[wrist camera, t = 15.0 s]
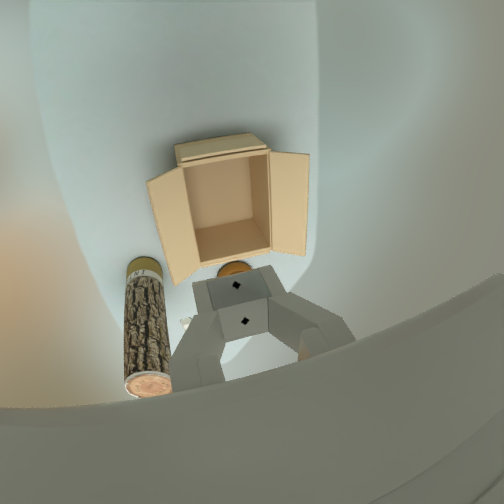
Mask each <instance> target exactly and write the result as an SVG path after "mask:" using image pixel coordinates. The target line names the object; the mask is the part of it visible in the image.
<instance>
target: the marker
mask: <svg viewBox="0 0 504 504" xmlns="http://www.w3.org/2000/svg"><path fill="white" fill-rule="evenodd" d="M190 322H191V319H190V318H189V317H188V318H185V319H182V320H181V325H182V327H183V329H184V331H186V330H187V328H188V326H189V324H190Z"/></svg>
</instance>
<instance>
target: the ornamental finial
mask: <svg viewBox="0 0 504 504" xmlns="http://www.w3.org/2000/svg"><path fill="white" fill-rule="evenodd" d="M248 270H252V269H251V267H250V266H249V265H247V264H245V263H242V262H233V263H230V264H227V265H226V266H224V267H223V268H222V269H221V270H220V272H219V274H218V276H217V277H222V276H227V275H232V274H236V273H240V272H244V271H248Z"/></svg>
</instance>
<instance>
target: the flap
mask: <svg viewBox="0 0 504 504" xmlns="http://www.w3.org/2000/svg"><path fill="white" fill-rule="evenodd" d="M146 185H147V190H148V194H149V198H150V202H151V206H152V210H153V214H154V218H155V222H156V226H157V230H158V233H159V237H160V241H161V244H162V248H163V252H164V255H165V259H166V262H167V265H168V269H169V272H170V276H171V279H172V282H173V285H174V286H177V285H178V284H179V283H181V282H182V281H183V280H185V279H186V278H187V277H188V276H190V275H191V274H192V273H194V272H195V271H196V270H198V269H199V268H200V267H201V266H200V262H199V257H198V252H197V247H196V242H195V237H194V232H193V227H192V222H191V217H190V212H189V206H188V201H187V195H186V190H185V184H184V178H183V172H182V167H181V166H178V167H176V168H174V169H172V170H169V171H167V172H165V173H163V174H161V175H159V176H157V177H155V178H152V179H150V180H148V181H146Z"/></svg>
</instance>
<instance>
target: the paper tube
mask: <svg viewBox="0 0 504 504" xmlns="http://www.w3.org/2000/svg"><path fill="white" fill-rule="evenodd" d="M170 359H171V351H170V343H169V335H168V327H167V318H166V309H165V298H164V287H163V277H162V269H161V266H160V265H159V264H158V263H157V262H156V261H155V260H153V259H151V258H146V257H143V258H138V259H136V260H134V261H132V262H131V263H130V264H129V266H128V269H127V277H126V291H125V312H124V380H125V389H126V391H127V392H128V393H129V394H131V395H133V396H135V397H138V398H146V397H152V396H158V395H164V394H170V393H172V387H171V380H170V372H169V365H168V363H169V361H170Z"/></svg>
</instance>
